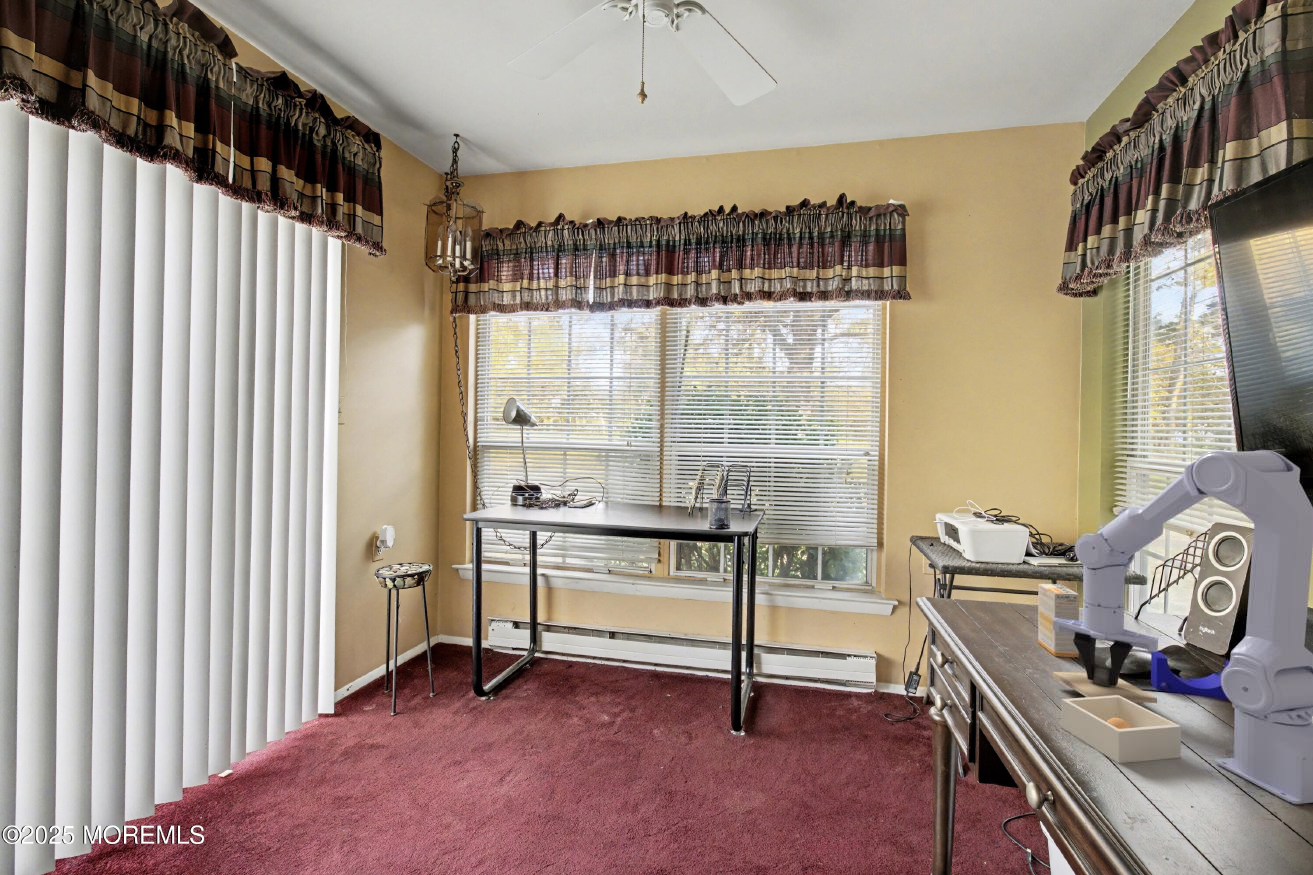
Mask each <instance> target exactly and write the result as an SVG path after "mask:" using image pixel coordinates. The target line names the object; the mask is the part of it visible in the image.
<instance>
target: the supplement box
mask: <svg viewBox="0 0 1313 875" xmlns="http://www.w3.org/2000/svg"><path fill="white" fill-rule="evenodd" d="M1037 591H1038V599H1037V600H1038V602H1037V603H1038V605H1037V606H1038V608H1037V610H1038V613H1037V614H1038V615H1037V616H1038V617H1037V619H1038V620H1037V621H1038V623H1037V624H1038V626H1037V627H1038V630H1037V631H1038V633H1037V635H1038V636H1037V638H1038V639H1037V640H1038V641H1037V644H1040V646H1041V647H1042V648H1044V649H1046V650H1047V651H1048V652H1049V653H1051V654H1052V655H1053V656H1054V657H1059V658H1061V657H1062V658H1075V657H1077V658H1079V656H1080V653H1079V651H1078V649H1077V648H1076V646H1075V644H1074V642H1073V639H1074V636H1075V634H1073V633H1068V632H1063V631H1060V632H1058V631H1053V620H1054V619H1055V618H1061V619H1067V620H1075V621H1080V594H1079V593H1077V592H1075V591H1074V590H1071V589H1070V588H1068V587H1067V586H1065V585H1062V584H1056V583H1055V584H1054V583H1038V590H1037ZM1077 658H1076V659H1077Z"/></svg>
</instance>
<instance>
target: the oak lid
mask: <svg viewBox="0 0 1313 875" xmlns="http://www.w3.org/2000/svg"><path fill="white" fill-rule="evenodd" d="M1110 675H1111V666H1108V665H1105V664H1101V663H1099V664H1097V663H1095V664H1094V665H1093V680H1088V678H1087V673H1086V672H1073V671H1072V672H1068V671H1067V672H1066V671H1052V677H1054V679H1056V680H1058V681H1060V682H1062V683H1063V684H1065V685H1066V686H1067V687H1069V688H1072V689H1073V690H1075V691H1076V692H1077V693H1080V694H1081V695H1083V696H1084V697H1085V698H1086V697H1099V696H1113V695H1119V696H1121V697H1123V698H1125V699H1127V700H1129V701H1131V702H1133V703H1135V704H1146V703H1147V704H1157V703H1158V698H1157V697H1156V696H1153V695H1152V694H1150V693H1148V692H1146V691H1144V690H1142V689H1140V688H1138V687H1137V686H1135V685H1132V683H1129V682H1127V681H1125V680H1123V679H1121V678H1120V677H1119V679H1118V684H1117V685H1116V686H1112V685H1110Z"/></svg>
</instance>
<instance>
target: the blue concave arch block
mask: <svg viewBox="0 0 1313 875" xmlns="http://www.w3.org/2000/svg"><path fill="white" fill-rule="evenodd" d="M1150 655H1151V656H1150V658H1151V659H1150V662H1151V663H1150V684H1151V685H1152V687H1154V689H1155V690H1157V691H1162V692H1168V693H1169V692H1170V693H1171V692H1172V693H1176V694H1177V693H1178V694H1185V695H1191V696H1197V697H1205V698H1211V699H1218V700H1219V699H1220V700H1224V701H1225V700H1226V701H1230V700H1229V699H1228V697H1227V696H1226V694H1225V693H1224V691H1223V689H1222V685H1221V674H1222V672H1223V670H1224V669H1225V668H1226V667H1227V666H1228V664H1229V662H1230V660H1225V666H1224V667H1223V670H1222V671H1221V673H1215V672H1214V673H1212V674H1211V675H1208V676H1205V677H1201V678H1200V677H1198V678H1191V677H1190V678H1189V680H1188V679H1184V678H1181V677H1179V676H1178V675H1176V674H1174V672H1172V670H1171V668H1170V666H1169V663H1168V658H1167V657H1166V656H1165V655H1164V654H1163V653H1162V652H1158V651H1156V652H1151V651H1150Z"/></svg>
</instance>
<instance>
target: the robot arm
mask: <svg viewBox="0 0 1313 875" xmlns="http://www.w3.org/2000/svg"><path fill="white" fill-rule="evenodd" d="M1300 474H1301V468H1300V467H1299V466H1297V465H1296V464H1294V463H1293V462H1292V461H1290V460H1289V459H1287V457H1285V456H1283V455H1282V454H1280V453H1278V452H1276V451H1272V450H1267V449H1259V450H1258V449H1257V450H1254V451H1247V450H1246V451H1224V450H1213V451H1209V452H1206V453H1205V452H1204V453H1203V454H1202V455H1201V456H1199V457H1198V458H1197V459H1196V460H1195V461H1193V462H1191V463H1189V464H1187V465H1185V467H1184V470H1183V473H1181V475H1179V476H1178V477H1177V478H1176V479H1174V480H1173V481H1172V482H1171V483H1170V484H1168V486H1167V487H1165V488H1164V489H1163V490H1162V491H1161V492H1159V493H1158V494H1157V495H1156V496H1155V497H1153V499H1151V500H1150V501H1149V502H1148V503H1147V504H1146V505H1144V506H1143V507H1138V506H1130V507H1124V508H1121V509H1120V510H1119V511H1117V514H1118V516H1117V517H1115V518H1114V519H1113V520H1111V521H1110V522H1109V523H1107V524H1106V525H1105V524H1104V525H1101V526H1100V527H1099V528H1098V531H1097V532H1096V533H1084V534H1081V535H1080V537H1079V538H1078V539H1077V540H1076V542H1075V546H1074V550H1075V551H1074V552H1075V556H1076V558H1077V560H1078V561H1079V562H1080V564H1081V565H1082V566H1083V570H1082V571H1083V572H1082V573H1083V577H1082V578H1083V580H1082V582H1083V584H1082V620H1079V621H1075V620H1067V619H1061V618H1055V619H1054V620H1053V631H1058V632H1060V631H1063V632H1068V633H1073V634H1075V636H1074V639H1073V642H1074V644H1075V646H1076V648H1077V649H1078V651H1079V656H1080V657H1081V660H1082V662H1083V665H1084V667H1085V673H1087V678H1088V680H1093V665H1094V664H1096V646H1097V639H1098V640H1101V641H1107V642H1111V643H1112V644H1111V645H1110V646H1109V653H1110V654H1109V656H1110V667H1111V675H1110V685H1112V686H1116V685H1117V684H1118V679H1119V678H1120V674H1121V672H1122V668H1123V666H1124V664H1125V662H1126V660H1127V658H1128V656H1129V655H1130V653H1131V651H1132V650H1133V648H1134V647H1135V648H1138V649H1145V650H1147V651H1148V652H1150V653H1151V652H1158V650H1159V638H1158V637H1155V636H1150V635H1147V634H1142V633H1139V632H1135V631H1133V630H1130V629H1129V630H1128V629H1125V578H1126V575H1128V568H1129V566H1130V565H1131V564H1132V563H1133V561H1134V559H1135V555H1136V553H1137V552H1139V551H1140V550H1142V549H1143V548H1145V547H1146V546H1148V545H1149V544H1151V543H1152V542H1155V540H1157V539H1158V538H1160V537H1161V536H1162V535H1163V533H1164V524H1165V523H1166V522H1168V521H1170V520H1171V519H1173V518H1175V517H1177V516H1178V515H1180V514H1181V513H1183V512H1184V511H1187V510H1188V509H1190V508H1191V507H1193V506H1195V505H1196V504H1198V503H1199V502H1201V501H1203V500H1204V499H1207V498H1214V499H1216V500H1218V501H1220V502H1222V503H1225V504H1226V505H1229V506H1231V507H1232V508H1235V509H1236V510H1238V511H1240V512H1241V514H1242V515H1244V516H1245V517H1247V518H1248V519H1249V520H1251V522H1252V523H1253V536H1252V537H1253V538H1252V551H1251V560H1250V561H1251V565H1250V575H1249V576H1250V578H1249V586H1248V587H1249V590H1248V603H1247V616H1246V626H1245V627H1246V629H1245V636H1244V637H1243V639H1242V640H1241V641H1240V642H1238V644H1237V645H1236V646H1235V647H1234V648H1233V649H1232V650H1231V652H1230V657H1229V661H1230V662H1229V664H1228V666H1227V667H1226V668H1225V667H1224V668H1225V669H1224V668H1223V670H1222V671H1223V672H1222V671H1221V673H1222V674H1221V673H1220V674H1221V685H1222V689H1223V691H1224V693H1225V694H1226V696H1227V697H1228V699H1229V700H1228V701H1230V702H1231V705H1232V706H1231V707H1232V708H1233V709H1234V722H1233V723H1234V730H1233V732H1234V734H1233V739H1234V741H1233V757H1229V758H1228V757H1227V758H1220V759H1219V758H1217V759H1215V764H1216V765H1218V766H1220V767H1222V768H1224V769H1226V770H1228V771H1230V772H1232V773H1234V774H1235V775H1237V776H1238V777H1241V778H1242V779H1245V780H1247V781H1249V782H1251V783H1253V784H1255V785H1256V786H1258V787H1260V788H1262V789H1264V790H1266V791H1267V792H1270V793H1272V795H1273V794H1274V795H1275V796H1276V797H1279V798H1281V799H1283V800H1285V801H1286V802H1288V803H1290V802H1291V803H1290V804H1294V805H1303V804H1310V803H1311V804H1312V803H1313V722H1312V719H1313V718H1312V717H1313V652H1312V651H1310V650H1308V648H1307V647H1305V644H1306V643H1305V642H1306V630H1307V619H1308V609H1309V608H1308V606H1309V596H1310V595H1309V593H1310V586H1311V585H1310V584H1311V574H1312V573H1311V571H1312V562H1313V561H1312V559H1313V505H1312V503H1311V501H1310V499H1309V498H1308V496H1307V494H1306V492H1305V490H1304V488H1303V486H1302V484H1301V483H1300Z"/></svg>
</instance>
